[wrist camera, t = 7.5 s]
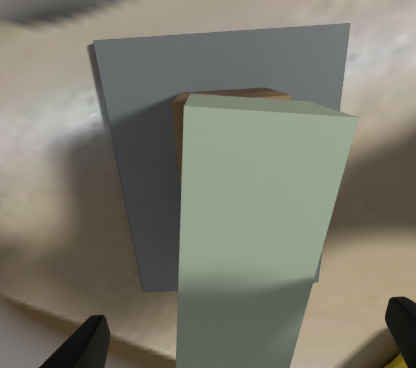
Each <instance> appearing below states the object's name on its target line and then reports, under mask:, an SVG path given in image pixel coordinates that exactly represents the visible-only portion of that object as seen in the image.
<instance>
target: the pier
mask: <svg viewBox="0 0 416 368" xmlns="http://www.w3.org/2000/svg"><path fill="white" fill-rule="evenodd" d="M190 93H191V94H205V95H220V96H235V97H249V98H264V99H279V100H291V95H289V94H285V93H282V92H279V91H276V90H273V89H270V88H267V87H262V88H247V89H232V90H216V91H201V92H186V93H180V94H179V95H178V96H177V97H176V98H175V99H174V101H173V102H172V103H171V105H172V114H173V123H174V132H175V141H176V151H177V160H178V169H179V178H180V187H181V186H182V153H183V121H184V105H185V103H186V101H187V99H188V97H189V95H190Z"/></svg>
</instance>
